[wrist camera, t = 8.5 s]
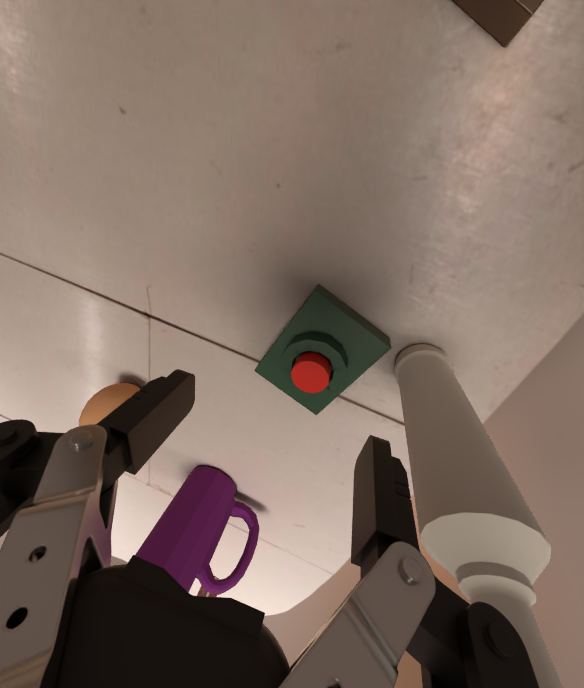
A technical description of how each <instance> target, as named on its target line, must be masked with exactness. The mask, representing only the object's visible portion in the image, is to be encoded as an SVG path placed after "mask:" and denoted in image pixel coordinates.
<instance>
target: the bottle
mask: <svg viewBox="0 0 584 688" xmlns="http://www.w3.org/2000/svg"><path fill="white" fill-rule="evenodd" d="M394 373H395V378H396V382H397V383H398V384H399V387H400V394H401V401H402V409H403V416H404V423H405V431H406V438H407V445H408V453H409V460H410V467H411V475H412V482H413V489H414V497H415V503H416V511H417V519H418V526H419V533H420V538H421V542H422V546H423V548H424V549H425V550H426V551H427V552H428V553H429V555H430V556H431V557H432V558H433V559H434V560H436V561H437V562H438V563H439V564H440V565H441V566H442V567H444V568H445V569H446V570H447V571H448V572H449V573H450V574H452V575H453V576H454V577H455V578H456V579H457V581H458V585H459V589H460V591H461V592H462V593H463V594H464V595H465V596H466V597H467V598H469V599H470V600H471V602H472V604H473V603H475V602H479V601H480V602H485V603H488V604H490V605H491V606H493V607H495V608H496V609H497V610H499V611H500V612H501V613H502V614H503V615H504V616H505V617H506V618H507V619H508V620H509V622H510V623H511V624H512V625H513V627H514V628H515V629H516V631H517V632H518V634H519V636H520V637H521V639H522V641H523V643H524V645H525V647H526V650H527V652H528V655H529V658H530V661H531V664H532V667H533V670H534V673H535V676H536V679H537V682H538V685H539V688H563V687H562V685H561V683H560V680H559V678H558V675H557V673H556V670H555V668H554V665H553V663H552V660H551V658H550V655H549V653H548V650H547V648H546V645H545V643H544V640H543V638H542V635H541V633H540V630H539V628H538V625H537V623H536V620H535V618H534V615H533V613H532V611H531V606H532V605H533V604H534V603H535V602H536V594H535V591H534V589H533V587H532V585H533V583H534V582H535V580H536V579H537V577H538V576H539V575H540V574H541V572H542V571H543V569H544V568H545V567H546V565H547V564H548V563H549V561H550V555H551V546H550V544H549V543H548V541H547V539H546V537H545V535H544V533H543V532H542V530H541V528H540V526H539V525H538V523H537V521H536V519H535V517H534V516H533V514H532V512H531V510H530V509H529V507H528V505H527V503H526V502H525V500H524V498H523V496H522V495H521V493H520V491H519V489H518V487H517V485H516V484H515V482H514V480H513V478H512V477H511V475H510V473H509V471H508V469H507V468H506V466H505V464H504V462H503V461H502V459H501V457H500V455H499V453H498V452H497V450H496V448H495V446H494V445H493V443H492V441H491V439H490V437H489V436H488V434H487V432H486V430H485V429H484V427H483V425H482V423H481V421H480V420H479V418H478V416H477V414H476V413H475V411H474V409H473V407H472V405H471V404H470V402H469V400H468V398H467V397H466V395H465V393H464V391H463V389H462V388H461V386H460V384H459V382H458V381H457V379H456V377H455V375H454V370H453V365H452V363H451V361H450V360H449V359H448V357H447V356H446V355H445V353H444V352H443V351H442V350H440V349H438V348H436V347H434V346H432V345H427V344H418V345H412V346H410V347H408V348H406V349H404V350H403V351H402V352H401V353H400V354H399V356H398V357H397V359H396V363H395V366H394Z"/></svg>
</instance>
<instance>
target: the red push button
mask: <svg viewBox="0 0 584 688" xmlns="http://www.w3.org/2000/svg"><path fill="white" fill-rule="evenodd" d="M330 374H331V366H330V363H329V362H328V360H327V359H326V358H325V357H324V356H322V355H320V354H318V353H314V352H309V353H305V354H302V355H301V356H300V357H299V358H298V359H297V361H296V363H295V365H294V367H293V369H292V372H291V377H292V380H293V382H294V384H295V385H296V386H297V387H298V388H299V389H301V390H302V391H305V392H308V393H317V392H320V391H322V390H324V389H325V388H326V387H327V385H328V382H329V378H330Z"/></svg>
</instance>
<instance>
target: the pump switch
mask: <svg viewBox="0 0 584 688" xmlns="http://www.w3.org/2000/svg"><path fill="white" fill-rule="evenodd" d="M390 349H391V343H390V338H389V337H388V336H386V335H385V334H384V333H382V332H381V331H380V330H379V329H377V328H376V327H375V326H373V325H372V324H371V323H369V322H368V321H367V320H365V319H364V318H363V317H361V316H360V315H359V314H358V313H356V312H355V311H354V310H352V309H351V308H350V307H348V306H347V305H346V304H344V303H343V302H342V301H340V300H339V299H338V298H337V297H335V296H334V295H333V294H331V293H330V292H329V291H327V290H326V289H325V288H323V287H322V286H321V285H320V284H318V285H317V287H316V288H315V289H314V291H313V292H312V293H311V295H310V296H309V297H308V299H307V300H306V301H305V303H304V304H303V305H302V307H301V308H300V309H299V311H298V312H297V313H296V315H295V316H294V317H293V319H292V320H291V321H290V323H289V324H288V325H287V327H286V328H285V329H284V331H283V332H282V334H281V335H280V336H279V338H278V339H277V340H276V342H275V343H274V344H273V346H272V347H271V348H270V350H269V351H268V352H267V354H266V355H265V356H264V358H263V359H262V360H261V362H260V363H259V364H258V366H257V367H256V369H255V370H254V371H255V372H257V373H258V374H260V375H261V376H262V377H264V378H265V379H266V380H268V381H269V382H271V383H272V384H273V385H275V386H276V387H278V388H279V389H280V390H282V391H283V392H285V393H286V394H287V395H289V396H290V397H292V398H293V399H294V400H296V401H297V402H299V403H300V404H301V405H303V406H304V407H306V408H307V409H308V410H310V411H311V412H313V413H314V414H315V415H317V414H318V413H319V412H320V411H322V410H323V409H324V408H325V407H326V406H327V405H328V404H329V403H330V402H332V401H333V400H334V399H335V398H336V397H337V396H338V395H339V394H340V393H342V392H343V391H344V390H345V389H346V388H347V387H348V386H349V385H351V384H352V383H353V382H354V381H355V380H356V379H357V378H358V377H359V376H361V375H362V374H363V373H364V372H365V371H366V370H367V369H368V368H370V367H371V366H372V365H373V364H374V363H375V362H376V361H377V360H378V359H380V358H381V357H382V356H383V355H384V354H385V353H386V352H387V351H388V350H390ZM309 352H314V353H318V354H320V355H322V356H324V357H325V358H326V359H327V360H328V362H329V363H330V366H331V374H330V378H329V382H328V385H327V387H326V388H325V389H324V390H322V391H320V392H317V393H308V392H305V391H302V390H301V389H299V388H298V387H297V386H296V385H295V384H294V382H293V380H292V377H291V372H292V369H293V367H294V365H295V363H296V361H297V359H298V358H299V357H300V356H301V355H302V354H305V353H309Z"/></svg>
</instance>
